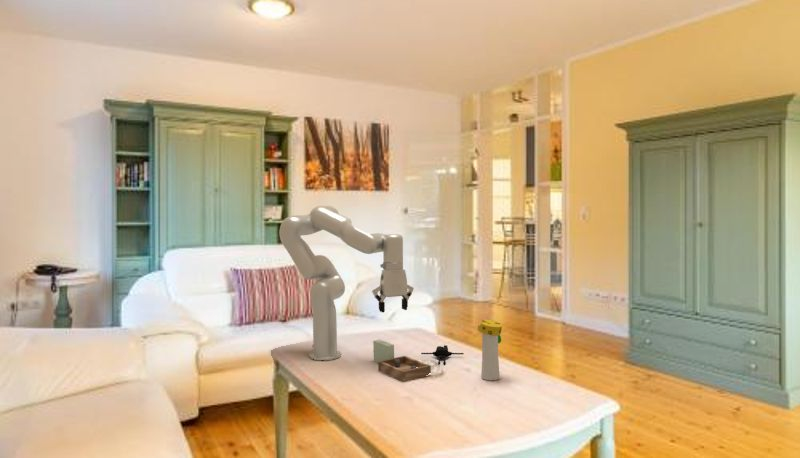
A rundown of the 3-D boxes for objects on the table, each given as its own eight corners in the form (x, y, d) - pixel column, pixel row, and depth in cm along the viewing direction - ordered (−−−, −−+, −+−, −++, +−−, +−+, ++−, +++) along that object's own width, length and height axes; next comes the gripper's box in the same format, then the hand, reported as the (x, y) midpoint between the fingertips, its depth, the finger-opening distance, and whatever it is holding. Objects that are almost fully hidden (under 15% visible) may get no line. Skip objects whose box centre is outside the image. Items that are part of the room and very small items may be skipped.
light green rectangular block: (373, 360, 205) (373, 340, 205) (380, 359, 207) (380, 339, 207) (387, 367, 197) (387, 346, 197) (395, 365, 199) (394, 344, 199)
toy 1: (464, 368, 197) (463, 354, 212) (464, 356, 197) (463, 343, 212) (419, 367, 199) (421, 354, 214) (419, 356, 199) (421, 343, 213)
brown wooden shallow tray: (378, 370, 192) (378, 361, 192) (404, 364, 199) (404, 355, 199) (403, 382, 179) (403, 372, 179) (430, 375, 186) (430, 365, 186)
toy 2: (505, 375, 185) (505, 319, 184) (499, 383, 177) (498, 324, 176) (483, 372, 188) (482, 317, 187) (476, 380, 180) (475, 322, 179)
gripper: (376, 268, 193) (377, 314, 194) (417, 266, 201) (417, 310, 202) (368, 266, 200) (368, 311, 200) (408, 264, 208) (408, 307, 208)
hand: (393, 310), depth 201 cm, fingers open, 9 cm apart
